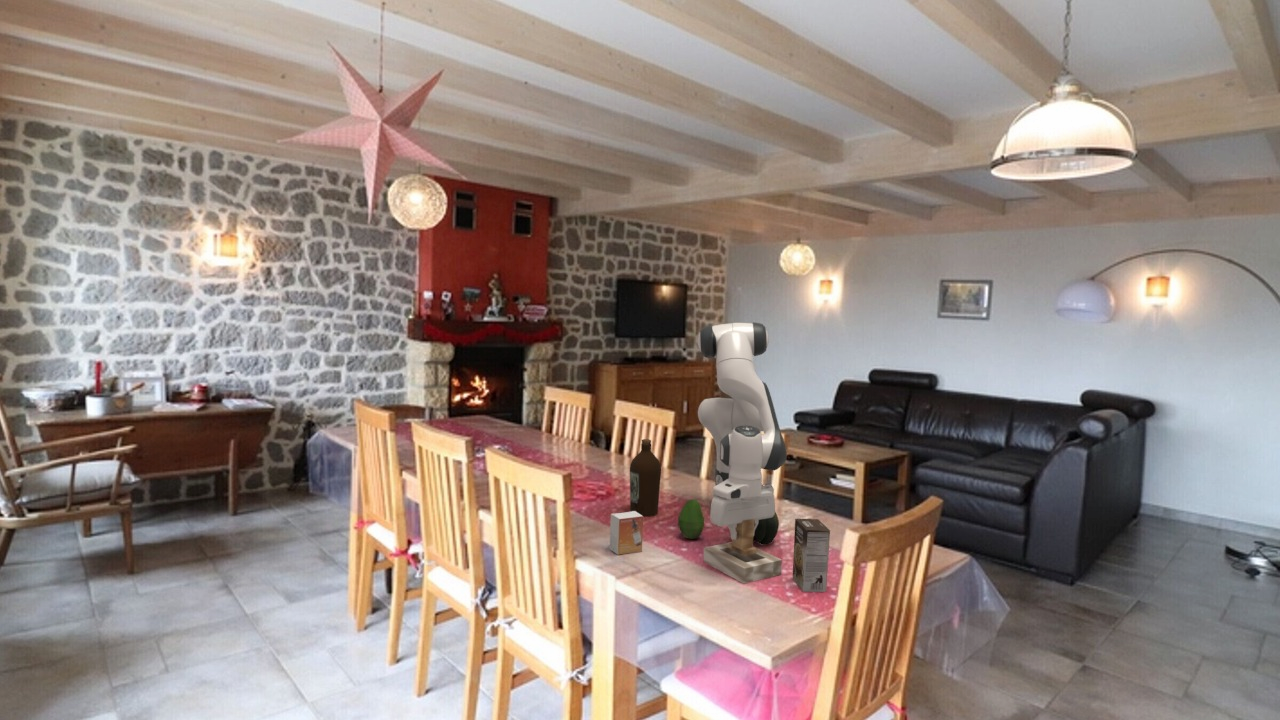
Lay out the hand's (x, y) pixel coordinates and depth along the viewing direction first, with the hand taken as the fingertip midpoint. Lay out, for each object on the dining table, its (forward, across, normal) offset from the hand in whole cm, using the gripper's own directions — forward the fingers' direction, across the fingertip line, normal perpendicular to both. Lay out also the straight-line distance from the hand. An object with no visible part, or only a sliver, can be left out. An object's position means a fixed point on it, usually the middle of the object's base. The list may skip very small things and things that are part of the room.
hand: (742, 537), depth 186 cm
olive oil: (+9, -3, -54) cm, 55 cm away
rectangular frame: (+9, 0, 0) cm, 9 cm away
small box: (+9, +21, -26) cm, 34 cm away
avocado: (+9, -2, -26) cm, 28 cm away
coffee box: (+9, -8, +17) cm, 21 cm away
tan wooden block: (+4, 0, 0) cm, 4 cm away
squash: (+9, -17, -15) cm, 24 cm away
